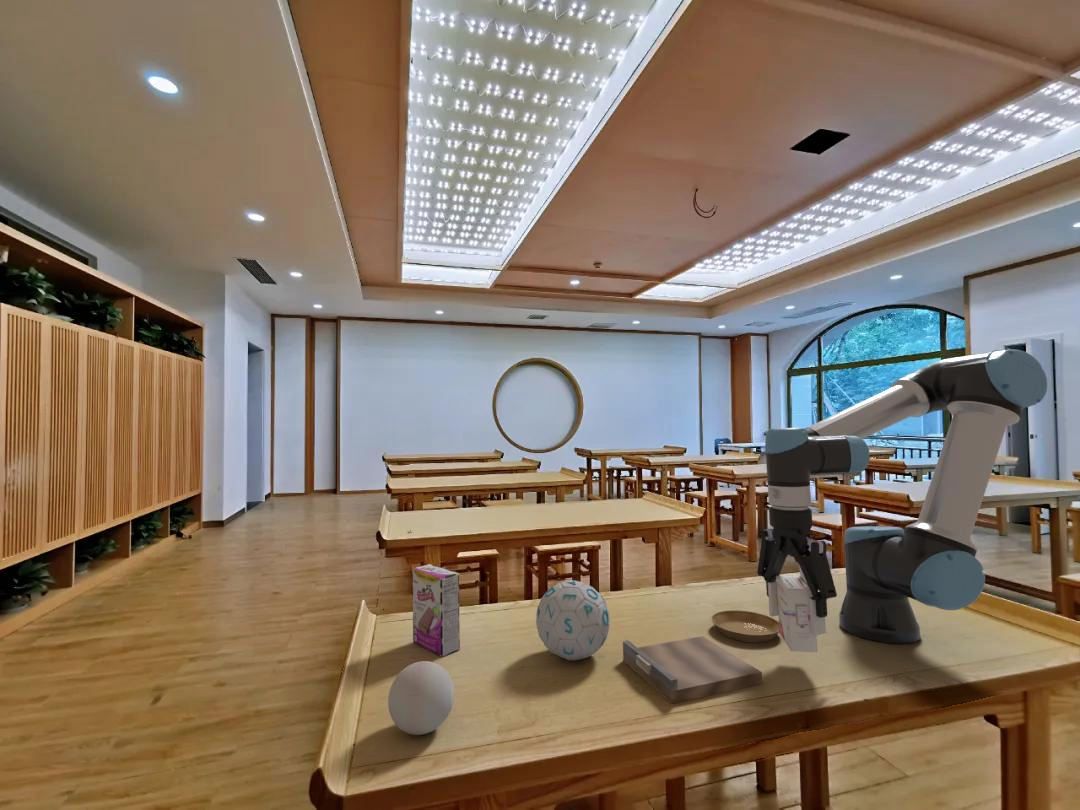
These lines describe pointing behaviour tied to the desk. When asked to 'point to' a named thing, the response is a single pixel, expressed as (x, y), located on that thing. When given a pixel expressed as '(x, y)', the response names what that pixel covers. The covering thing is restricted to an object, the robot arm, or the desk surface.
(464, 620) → the desk surface
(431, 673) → the grey sphere
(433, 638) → the candy bar box
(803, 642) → the ink cartridge box
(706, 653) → the flat brown box
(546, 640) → the puzzle ball
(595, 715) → the desk surface
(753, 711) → the desk surface
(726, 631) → the plant saucer
